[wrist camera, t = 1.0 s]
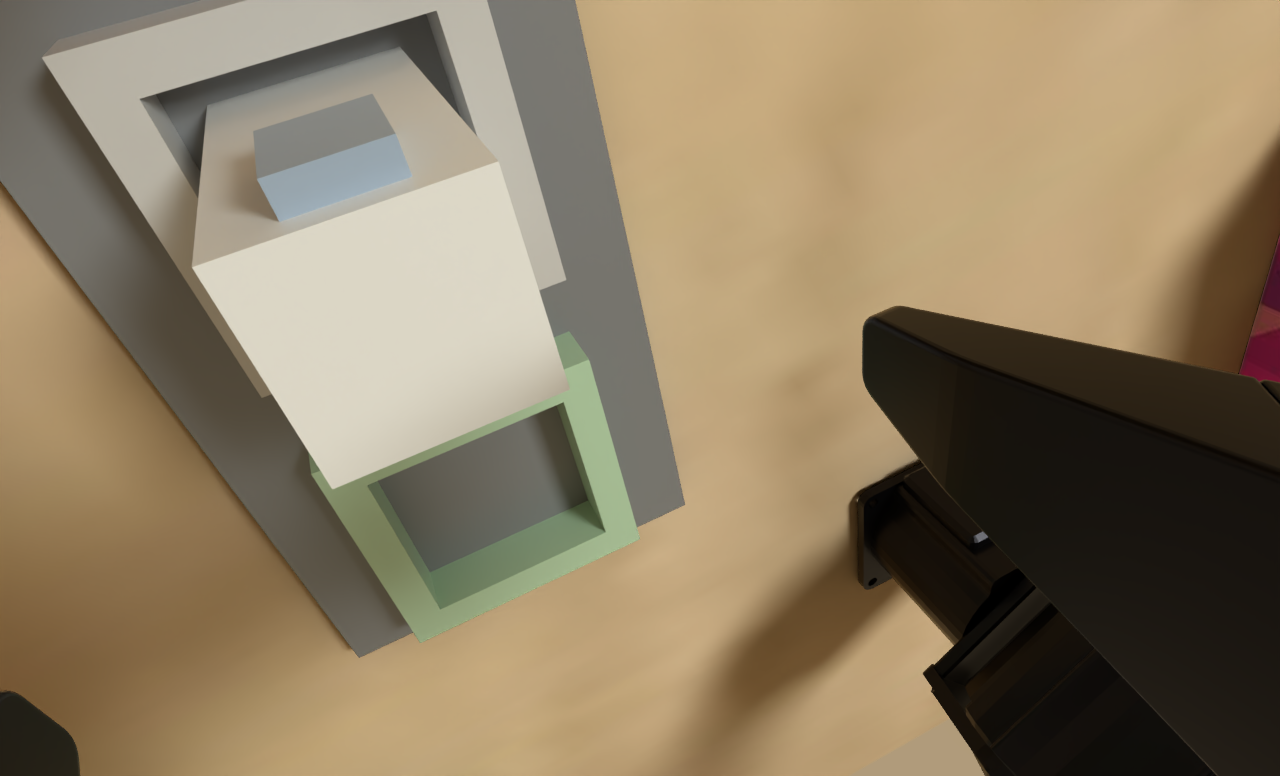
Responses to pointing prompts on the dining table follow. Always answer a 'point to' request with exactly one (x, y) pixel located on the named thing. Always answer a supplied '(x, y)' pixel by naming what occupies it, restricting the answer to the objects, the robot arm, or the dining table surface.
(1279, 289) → the decorative box
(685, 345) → the dining table surface
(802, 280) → the dining table surface
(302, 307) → the plug
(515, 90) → the panel
